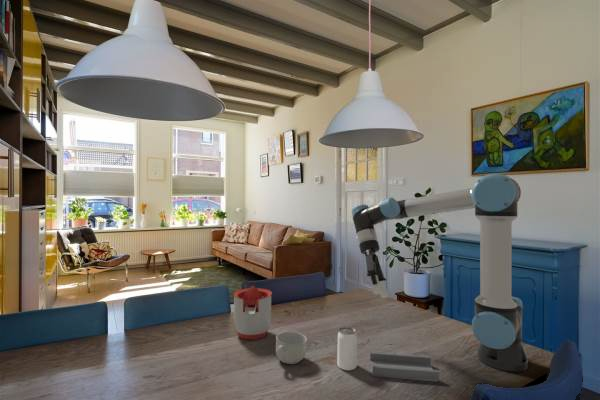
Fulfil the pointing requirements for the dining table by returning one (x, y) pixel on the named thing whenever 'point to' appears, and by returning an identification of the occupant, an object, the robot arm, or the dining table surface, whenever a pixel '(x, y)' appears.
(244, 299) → the citrus juicer
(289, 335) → the teacup
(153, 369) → the dining table surface
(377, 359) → the tray
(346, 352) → the can
